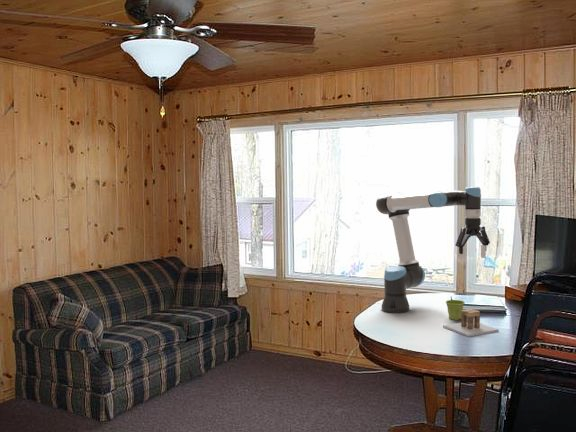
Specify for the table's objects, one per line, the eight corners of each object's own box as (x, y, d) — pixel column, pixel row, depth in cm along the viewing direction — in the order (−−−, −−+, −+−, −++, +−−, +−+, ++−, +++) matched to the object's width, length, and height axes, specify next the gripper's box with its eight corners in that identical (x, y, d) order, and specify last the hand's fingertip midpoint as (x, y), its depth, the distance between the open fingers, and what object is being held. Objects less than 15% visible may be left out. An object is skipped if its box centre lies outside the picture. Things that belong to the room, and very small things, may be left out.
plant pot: (465, 321, 288) (465, 304, 288) (446, 320, 290) (446, 303, 290) (463, 316, 298) (463, 300, 297) (445, 315, 299) (445, 299, 299)
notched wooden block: (461, 326, 275) (461, 310, 275) (471, 324, 278) (471, 308, 277) (469, 329, 270) (469, 312, 269) (479, 327, 272) (479, 311, 271)
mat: (442, 327, 278) (442, 325, 278) (471, 322, 286) (471, 320, 286) (468, 336, 262) (468, 334, 262) (498, 331, 269) (498, 329, 269)
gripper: (458, 219, 281) (458, 262, 283) (497, 216, 291) (497, 257, 293) (448, 218, 288) (448, 260, 289) (486, 215, 298) (486, 256, 299)
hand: (472, 259), depth 291 cm, fingers open, 13 cm apart
